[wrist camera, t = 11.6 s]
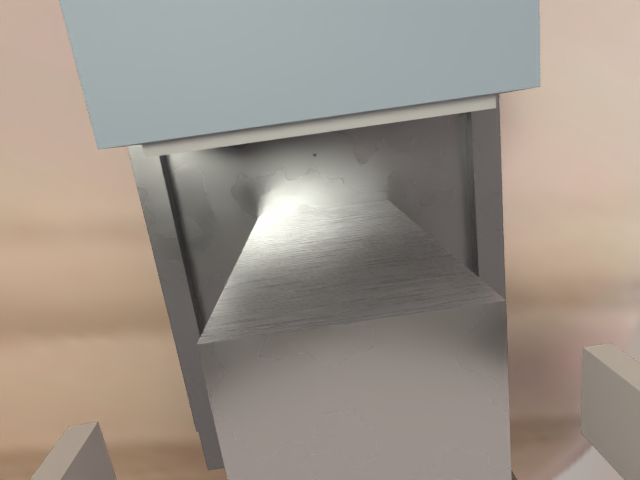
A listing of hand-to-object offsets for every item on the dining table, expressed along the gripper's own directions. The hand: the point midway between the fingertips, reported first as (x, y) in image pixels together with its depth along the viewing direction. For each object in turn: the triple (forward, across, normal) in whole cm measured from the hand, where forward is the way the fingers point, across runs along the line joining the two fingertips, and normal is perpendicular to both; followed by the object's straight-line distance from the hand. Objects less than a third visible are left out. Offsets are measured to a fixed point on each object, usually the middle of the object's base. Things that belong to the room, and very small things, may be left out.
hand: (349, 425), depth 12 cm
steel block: (+10, 0, 0) cm, 10 cm away
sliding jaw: (+9, 0, +11) cm, 15 cm away
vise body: (+11, +1, +2) cm, 11 cm away
